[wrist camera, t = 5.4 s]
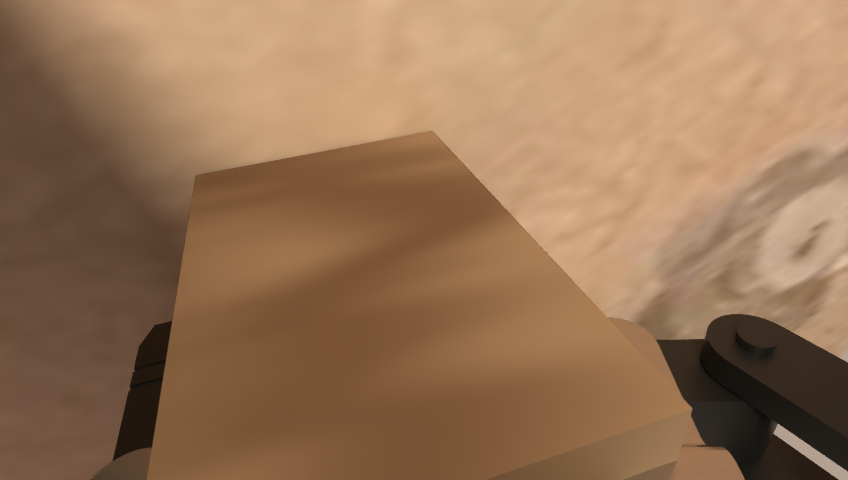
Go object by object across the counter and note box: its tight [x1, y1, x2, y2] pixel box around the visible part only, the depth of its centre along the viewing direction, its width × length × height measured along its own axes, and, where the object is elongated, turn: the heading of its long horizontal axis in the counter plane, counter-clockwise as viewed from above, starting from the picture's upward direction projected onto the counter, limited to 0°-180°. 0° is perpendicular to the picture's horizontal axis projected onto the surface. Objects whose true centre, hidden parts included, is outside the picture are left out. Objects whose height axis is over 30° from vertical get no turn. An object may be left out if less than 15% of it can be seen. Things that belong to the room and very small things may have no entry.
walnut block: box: [147, 131, 693, 480], centre depth 9 cm, size 5×5×8 cm
